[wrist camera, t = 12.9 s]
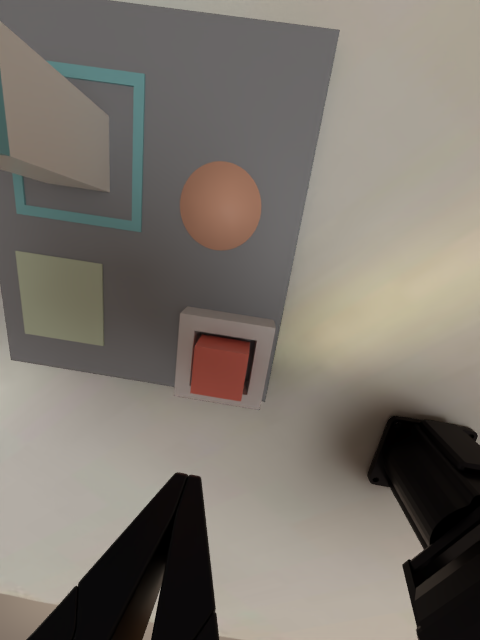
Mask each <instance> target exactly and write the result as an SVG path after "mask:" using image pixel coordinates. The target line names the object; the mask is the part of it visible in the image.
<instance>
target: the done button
mask: <svg viewBox="0 0 480 640" xmlns="http://www.w3.org/2000/svg"><path fill="white" fill-rule="evenodd" d="M249 349H250V342H247V341H241V340H235V339H228V338H222V337H216V336H210V335H203V334H202V335H201V337H200V338H199V340H198V342H197V343H196V345H195V349H194V359H193V370H192V380H191V390H190V393H192V394H198V395H204V396H210V397H216V398H222V399H228V400H234V401H241V399H242V394H243V388H244V382H245V376H246V370H247V364H248V358H249Z"/></svg>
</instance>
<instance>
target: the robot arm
mask: <svg viewBox="0 0 480 640" xmlns="http://www.w3.org/2000/svg"><path fill="white" fill-rule="evenodd" d="M396 422H398V423H397V424H395V423H396ZM477 437H478V435H477V433H476V432H474V431H473V430H472V429H471V428H466V427H460V426H457V425H455V424H448V423H442V422H436V421H430V420H418V419H412V418H405V417H399V416H393V417H391V418H390V419H389V420H388V423H387V425H386V428H385V430H384V433H383V436H382V438H381V441H380V444H379V446H378V449H377V451H376V454H375V457H374V459H373V462H372V465H371V467H370V470H369V472H368V479H369V481H370V483H372V484H375V485H381V486H386V487H390V488H391V490H392V492H393V494H394V496H395V497H396V499H397V501H398V503H399V505H400V507H401V508H402V510H403V512H404V514H405V516H406V518H407V519H408V521H409V523H410V525H411V527H412V529H413V530H414V532H415V534H416V536H417V538H418V539H419V541H420V543H421V545H422V547H423V549H424V550H423V551H422V552H421V553H419V554H418V555H417V556H416V557H414V558H413V559H412V560H407V561H406V562H405V563H404V564H403V570H404V574H405V578H406V583H407V587H408V591H409V595H410V600H411V604H412V608H413V612H414V616H415V621H416V625H417V629H416V631H417V636H418V640H480V445H479V444H478V443H477V442H475V441H476V439H477ZM160 587H161V590H160ZM159 590H160V596H159V601H158V606H157V611H156V617H155V622H154V627H153V633H152V638H151V640H219V634H218V624H217V615H216V613H215V610H216V608H215V599H214V590H213V581H212V572H211V563H210V554H209V545H208V536H207V527H206V518H205V509H204V500H203V491H202V482H201V477H200V476H195V475H189V476H188V475H187V474H184V473H175V474H174V475H173V476H172V477H171V478H170V480H169V481H168V482H167V483H166V484H165V485H164V486H163V488H162V489H161V490H160V491H159V492H158V493H157V494H156V495H155V497H154V498H153V499H152V500H151V501H150V502H149V503H148V505H147V506H146V507H145V508H144V509H143V510H142V511H141V512H140V514H139V515H138V516H137V517H136V518H135V519H134V520H133V522H132V523H131V524H130V525H129V526H128V527H127V528H126V529H125V531H124V532H123V533H122V534H121V535H120V536H119V537H118V539H117V540H116V541H115V542H114V543H113V544H112V545H111V546H110V548H109V549H108V550H107V551H106V552H105V553H104V554H103V556H102V557H101V558H100V559H99V560H98V561H97V562H96V563H95V565H94V566H93V567H92V568H91V569H90V570H89V571H88V573H87V574H86V575H85V576H84V577H83V578H82V579H81V580H80V582H79V583H78V586H75V587H74V588H73V589H72V590H71V592H70V593H69V594H68V595H67V596H66V597H65V598H64V600H63V601H62V602H61V603H60V604H59V605H58V606H57V607H56V609H55V610H54V611H53V612H52V613H51V614H50V615H49V616H48V617H47V618H46V619H45V620H44V621H43V623H42V624H41V625H40V626H39V627H38V628H37V629H36V630H35V631H34V632H33V633H32V634H31V635H30V637H28V639H27V640H142V639H143V636H144V633H145V630H146V627H147V625H148V622H149V619H150V616H151V613H152V610H153V608H154V605H155V602H156V599H157V596H158V593H159Z"/></svg>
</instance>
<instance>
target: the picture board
mask: <svg viewBox="0 0 480 640" xmlns="http://www.w3.org/2000/svg"><path fill="white" fill-rule="evenodd" d="M0 21H1V22H2V23H3V24H4V25H5V26H7V27H8V28H9V29H10V30H11V31H12V32H13V33H15V34H16V35H17V36H18V37H19V38H20V39H21V40H23V41H24V42H25V43H26V44H27V45H28V46H29V47H31V48H32V49H33V50H34V51H35V52H36V53H37V54H39V55H40V56H41V57H42V58H43V59H44V60H45V61H47V62H48V63H49V64H50V65H51V66H52V67H53V68H55V69H56V70H57V71H58V72H59V73H60V74H61V75H63V76H64V77H65V78H66V79H67V80H68V81H69V82H71V83H72V84H73V85H74V86H75V87H76V88H77V89H79V90H80V91H81V92H82V93H83V94H84V95H86V96H87V97H88V98H89V99H90V100H91V101H92V102H94V103H95V104H96V105H97V106H98V107H99V108H100V109H102V110H103V111H104V112H105V113H106V114H107V115H108V116H109V166H110V192H104V191H97V190H90V189H83V188H76V187H69V186H62V185H55V184H48V183H44V182H41V181H37V180H34V179H31V178H27V177H24V176H21V175H17V174H14V173H11V172H7V171H4V170H0V285H1V292H2V299H3V306H4V313H5V320H6V328H7V335H8V342H9V349H10V356H11V360H15V361H21V362H27V363H33V364H39V365H45V366H51V367H57V368H63V369H69V370H75V371H82V372H88V373H94V374H100V375H106V376H112V377H118V378H124V379H130V380H136V381H142V382H148V383H154V384H160V385H166V386H172V387H174V396H178V397H184V398H190V399H196V400H202V401H208V402H214V403H220V404H226V405H232V406H238V407H244V408H250V409H256V410H260V406H261V401H263V402H265V399H266V394H267V389H268V384H269V379H270V374H271V369H272V364H273V359H274V354H275V349H276V344H277V339H278V334H279V329H280V324H281V319H282V314H283V309H284V304H285V299H286V295H287V290H288V285H289V280H290V275H291V270H292V265H293V260H294V255H295V250H296V245H297V240H298V235H299V230H300V225H301V220H302V215H303V210H304V205H305V200H306V195H307V190H308V185H309V180H310V175H311V170H312V165H313V160H314V155H315V150H316V145H317V141H318V136H319V131H320V126H321V121H322V116H323V111H324V106H325V101H326V96H327V91H328V86H329V81H330V76H331V71H332V66H333V61H334V56H335V51H336V46H337V41H338V36H339V31H340V30H336V29H329V28H321V27H313V26H305V25H297V24H289V23H282V22H274V21H266V20H258V19H250V18H243V17H235V16H227V15H219V14H211V13H204V12H196V11H188V10H180V9H172V8H165V7H157V6H149V5H141V4H133V3H126V2H118V1H110V0H0ZM202 334H203V335H210V336H216V337H222V338H228V339H235V340H241V341H247V342H250V349H249V358H248V364H247V370H246V376H245V382H244V388H243V394H242V399H241V401H234V400H228V399H222V398H216V397H210V396H204V395H198V394H192V393H190V390H191V380H192V370H193V359H194V349H195V345H196V343H197V342H198V340H199V338H200V337H201V335H202Z"/></svg>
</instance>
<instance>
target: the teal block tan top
mask: <svg viewBox="0 0 480 640" xmlns="http://www.w3.org/2000/svg"><path fill="white" fill-rule="evenodd" d="M0 170H4V171H7V172H11V173H14V174H17V175H21V176H24V177H27V178H31V179H34V180H37V181H41V182H44V183H48V184H55V185H62V186H69V187H76V188H83V189H90V190H97V191H104V192H110V166H109V116H108V115H107V114H106V113H105V112H104V111H103V110H102V109H100V108H99V107H98V106H97V105H96V104H95V103H94V102H92V101H91V100H90V99H89V98H88V97H87V96H86V95H84V94H83V93H82V92H81V91H80V90H79V89H77V88H76V87H75V86H74V85H73V84H72V83H71V82H69V81H68V80H67V79H66V78H65V77H64V76H63V75H61V74H60V73H59V72H58V71H57V70H56V69H55V68H53V67H52V66H51V65H50V64H49V63H48V62H47V61H45V60H44V59H43V58H42V57H41V56H40V55H39V54H37V53H36V52H35V51H34V50H33V49H32V48H31V47H29V46H28V45H27V44H26V43H25V42H24V41H23V40H21V39H20V38H19V37H18V36H17V35H16V34H15V33H13V32H12V31H11V30H10V29H9V28H8V27H7V26H5V25H4V24H3V23H2V22H1V21H0Z"/></svg>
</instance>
